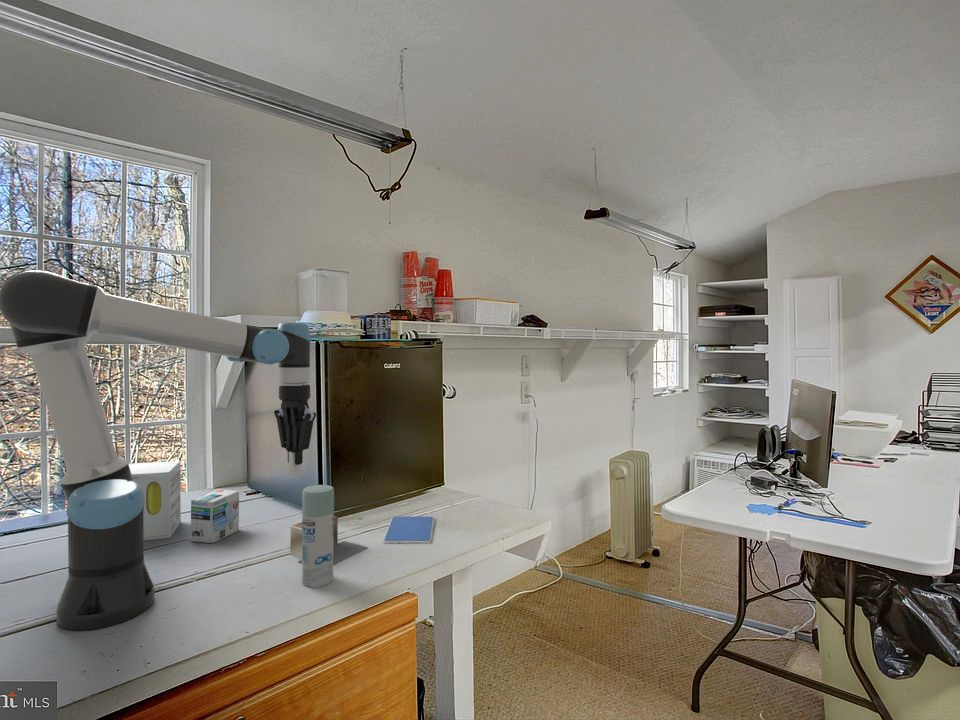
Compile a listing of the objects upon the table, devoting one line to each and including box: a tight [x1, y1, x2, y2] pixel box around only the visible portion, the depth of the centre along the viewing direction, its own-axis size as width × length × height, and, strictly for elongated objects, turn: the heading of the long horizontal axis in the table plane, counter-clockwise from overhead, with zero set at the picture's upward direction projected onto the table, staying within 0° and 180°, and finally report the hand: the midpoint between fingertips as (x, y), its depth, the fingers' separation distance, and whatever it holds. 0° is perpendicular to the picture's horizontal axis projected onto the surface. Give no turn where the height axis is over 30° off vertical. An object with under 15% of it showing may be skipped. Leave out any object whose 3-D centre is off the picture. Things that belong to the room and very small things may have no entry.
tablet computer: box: [382, 516, 435, 545], centre depth 144 cm, size 19×13×1 cm, turn 2°
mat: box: [297, 540, 369, 566], centre depth 126 cm, size 15×8×1 cm, turn 150°
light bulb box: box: [190, 489, 240, 544], centre depth 138 cm, size 11×7×11 cm, turn 169°
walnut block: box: [289, 515, 339, 560], centre depth 129 cm, size 7×4×11 cm
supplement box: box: [128, 460, 182, 541], centre depth 139 cm, size 13×13×18 cm
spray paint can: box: [301, 484, 335, 589], centre depth 112 cm, size 6×6×20 cm
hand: (295, 476), depth 133 cm, fingers closed
